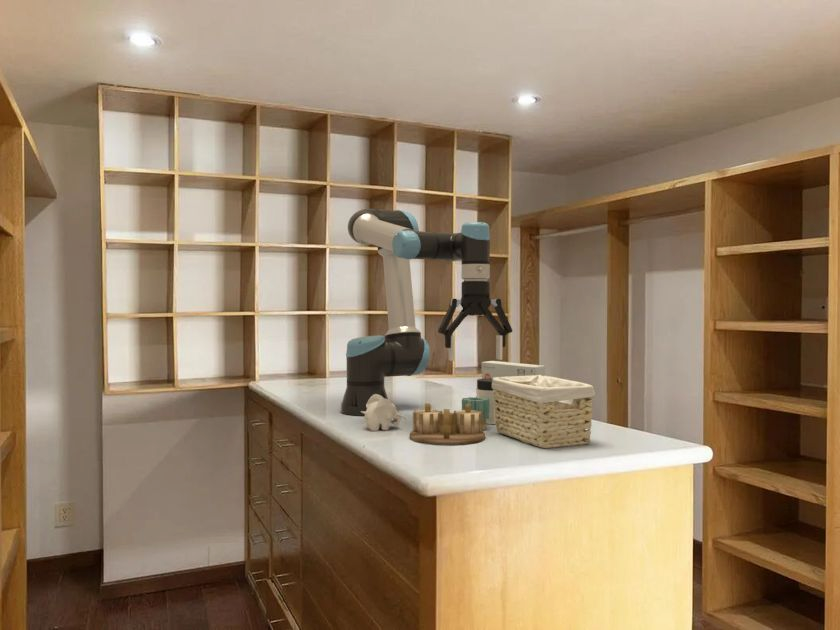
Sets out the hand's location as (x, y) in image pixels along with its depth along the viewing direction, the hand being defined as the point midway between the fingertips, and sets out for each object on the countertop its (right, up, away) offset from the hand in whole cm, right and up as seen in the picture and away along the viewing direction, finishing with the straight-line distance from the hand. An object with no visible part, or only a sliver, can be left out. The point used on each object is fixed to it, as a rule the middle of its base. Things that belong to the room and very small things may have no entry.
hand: (475, 360), depth 185 cm
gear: (0, -16, 0) cm, 16 cm away
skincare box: (+13, -18, +22) cm, 31 cm away
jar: (+5, -19, +11) cm, 22 cm away
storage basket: (+15, -19, -13) cm, 28 cm away
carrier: (-8, -19, -12) cm, 23 cm away
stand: (0, -19, +1) cm, 19 cm away
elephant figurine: (-25, -19, +1) cm, 31 cm away
